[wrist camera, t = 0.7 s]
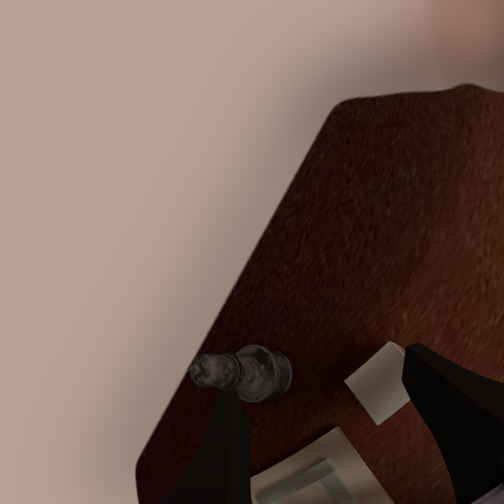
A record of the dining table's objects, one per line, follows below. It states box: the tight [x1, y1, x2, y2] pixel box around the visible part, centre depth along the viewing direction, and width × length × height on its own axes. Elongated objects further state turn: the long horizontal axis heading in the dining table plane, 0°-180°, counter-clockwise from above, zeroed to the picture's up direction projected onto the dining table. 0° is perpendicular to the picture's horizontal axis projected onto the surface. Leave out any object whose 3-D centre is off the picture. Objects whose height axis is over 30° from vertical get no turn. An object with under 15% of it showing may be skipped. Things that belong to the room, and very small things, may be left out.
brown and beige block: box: [345, 341, 410, 425], centre depth 21 cm, size 4×4×6 cm
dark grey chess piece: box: [188, 345, 292, 402], centre depth 27 cm, size 6×6×12 cm
